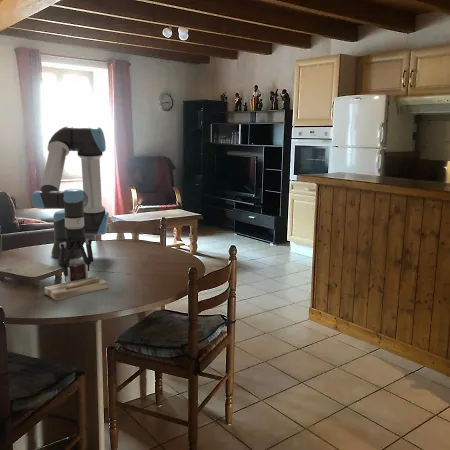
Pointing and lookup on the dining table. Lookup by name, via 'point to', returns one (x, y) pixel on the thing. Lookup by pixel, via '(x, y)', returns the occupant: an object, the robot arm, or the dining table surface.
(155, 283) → the dining table surface
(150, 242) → the dining table surface
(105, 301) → the dining table surface
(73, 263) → the box
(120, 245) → the dining table surface
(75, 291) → the board
